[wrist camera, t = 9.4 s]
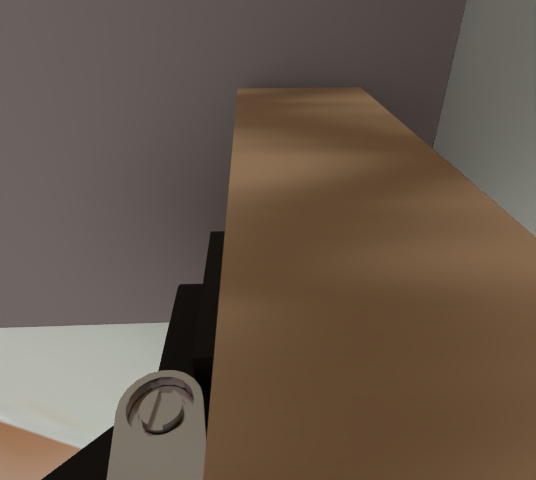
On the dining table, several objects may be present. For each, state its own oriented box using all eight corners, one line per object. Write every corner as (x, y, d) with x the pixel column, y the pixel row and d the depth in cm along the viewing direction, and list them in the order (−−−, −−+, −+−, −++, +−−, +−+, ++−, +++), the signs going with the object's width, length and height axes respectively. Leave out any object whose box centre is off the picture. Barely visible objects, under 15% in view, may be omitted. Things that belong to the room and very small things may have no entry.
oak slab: (362, 87, 11) (1351, 916, 1) (336, 301, 16) (504, 879, 5) (237, 88, 11) (150, 1044, 1) (246, 303, 15) (246, 901, 5)
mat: (461, -21, 12) (471, -21, 11) (390, 306, 19) (394, 315, 18) (-161, -20, 11) (-181, -21, 11) (3, 318, 18) (-4, 327, 18)
